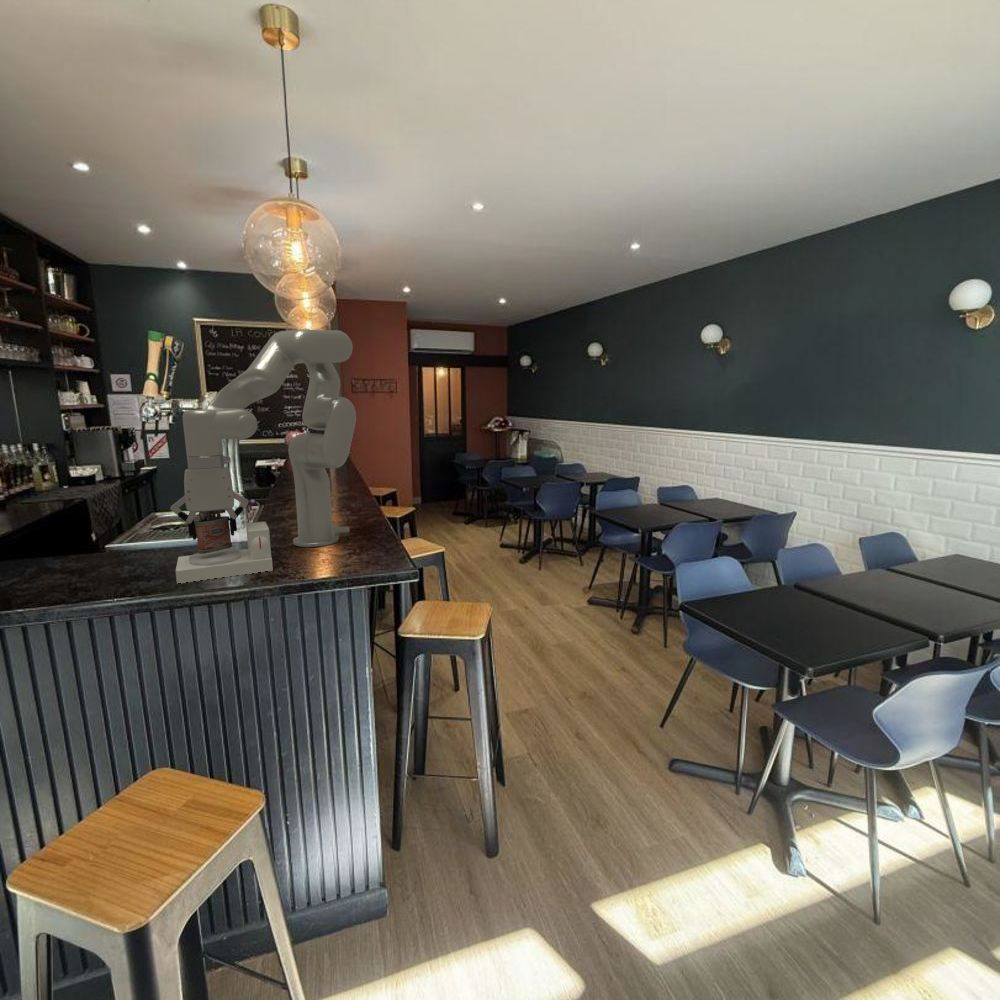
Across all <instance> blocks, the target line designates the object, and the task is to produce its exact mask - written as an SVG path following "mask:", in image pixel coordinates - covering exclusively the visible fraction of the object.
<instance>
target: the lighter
mask: <svg viewBox="0 0 1000 1000" xmlns="http://www.w3.org/2000/svg"><path fill="white" fill-rule="evenodd" d="M225 513H227V511H226V510H219V511H208V512H198V516H199V517H198V518H199V520H196V521H194V523H195V526H196V534H197V539H196V540H197V553H198V554H206V553H211V552H216V551H220V550H224V549H232V547H233V543H232V540H231V539H232V538H231V531H230V521H229V518H230V515H228V516H227V515H223V516H222V515H221V514H225Z"/></svg>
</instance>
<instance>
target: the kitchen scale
mask: <svg viewBox="0 0 1000 1000" xmlns="http://www.w3.org/2000/svg"><path fill="white" fill-rule="evenodd" d="M245 526H246V536H247V548H245V549H244V548H243V549H232V548H227V549H224V550H220V551H216V552H211V553H206V554H198V552H197V553H196V552H195V553H194V554H192V555H184V556H183V555H181V556H177V557H178V558H177V562H176V567H175V578H176V579H175V580H176V585H179V584H178V583H181V584H187V583H186V582H188V583H194V582H193V581H196V582H201V581H200V580H203V581H208V580H207V579H210V580H215V579H214V578H217V579H223V578H222V577H225V578H231V577H230V576H232V577H237V576H236V575H239V576H245V574H247V575H253V574H252V573H254V574H259V573H258V572H261V573H266V572H265V571H268V572H273V571H274V569H273V558H272V550H271V548H272V547H271V539H270V528H269V526H268V524H267V522H266V521H257V522H247V523H245Z"/></svg>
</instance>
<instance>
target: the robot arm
mask: <svg viewBox="0 0 1000 1000" xmlns="http://www.w3.org/2000/svg"><path fill="white" fill-rule="evenodd" d="M353 348H354V346H353V342H352V340H351V338H350V337H349V336H348V334H347V333H345V332H343V331H342V330H339V329H338V330H337V329H336V330H335V329H334V330H333V329H332V330H331V329H330V330H329V329H328V330H327V329H306V328H305V329H293V330H291V329H290V330H281V331H278V332H275V333H274V334H273V335H272V336H271V337H270V338H268V341H267V342H266V343H265V345H264V346H263V347H262V349H261V350H260V351H259V353H258V354H257V355H256V357H255V358H254V360H253V361H252V362H251V364H250V365H249V366H248V368H247V369H246V370H245V371H244V372H242V373H241V374H239V375H238V376H236V378H234V379H233V380H232V381H231V382H229V383H227V384H226V385H225V386H224V387H222V388H221V389H220V390H219V391H218V392H217V393H216V394H215V396H214V397H213V398H211V400H210V402H209V404H207V406H206V407H205V408H204V409H189V410H185V411H184V412H183V414H182V424H183V425H182V426H183V435H184V443H185V450H186V451H185V452H186V460H187V469H184V474H183V475H184V477H183V478H184V479H183V485H184V487H183V488H184V489H183V490H184V491H183V492H184V495H183V496H182V497H181V498H179V499H178V500H177V501H176V502H175V503H173V504H172V505H170V508H169V509H170V511H172V512H173V513H174V514H175V515H176V516H178V518H180V519H181V520H182V521H184V522H185V523H186V524H187V525H188V526H187V527H188V534H189V535H188V536H189V537H192V540H193V541H196V540H197V533H196V526H195V523H194V522H195V520H194V518H195V517H196V515H197V513H199V512H208V511H219V510H225V511H226V513H227V514H228V516H229V527H230V536H233V537H234V536H235V532H237V531H238V527H237V526H238V525H237V518H238V517H239V516H240V515H241V514H242V513H243V511H244V510H245V508H246V507H247V506H248V504H250V502H249V500H248V499H247V498H245V497H244V496H242V495H240V494H238V493H236V492H235V491H234V488H233V479H232V477H231V473H230V469H229V467H228V466H226V464H229V463H231V462H232V461H231V457H230V456H225V455H224V449H223V448H224V447H223V440H226V439H227V440H237V441H238V440H240V441H241V440H246V439H248V438H250V437H252V436H253V435H254V434H255V433H256V431H257V429H258V420H257V418H256V416H255V415H254V414H253V413H252V412H251V411H249V410H246V408H247V407H248V406H250V405H251V404H254V403H256V402H258V401H259V400H263V399H265V398H268V397H270V396H271V395H273V394H275V393H277V392H278V390H280V388H281V386H282V385H283V384H284V382H285V380H286V379H287V378H288V376H289V375H290V373H291V372H292V370H293V369H294V367H295V366H296V365H297V364H304V365H305V367H306V369H307V371H308V376H309V382H308V387H307V392H306V396H305V400H304V404H303V407H302V408H303V410H302V415H301V416H302V422H303V424H304V425H305V426H306V427H307V428H308V429H311V430H315V431H324V433H321V432H319V433H317V432H316V433H315V432H312V433H311V432H307V433H306V432H305V433H299V434H298V435H295V436H294V437H292V439H291V441H290V442H289V444H288V450H287V451H288V457H289V461H290V464H291V467H292V471H293V473H292V474H293V479H294V492H295V506H296V519H297V520H296V521H297V522H296V523H297V534H298V535H297V537H294V538H293V540H292V544H293V545H294V546H296V547H300V548H301V547H302V548H314V547H315V548H316V547H318V548H319V547H325V546H328V545H332V544H335V543H337V542H339V540H340V539H339V534H349V533H350V526H342V525H341V526H335V525H334V524H333V515H332V514H333V513H332V499H331V498H332V497H331V482H330V478H329V475H328V472H327V470H326V469H338V468H340V467H342V466H343V465H344V464H345V463H346V462H347V459H348V457H349V455H350V451H351V447H352V442H353V441H352V440H353V437H354V433H355V428H356V423H357V413H356V408H355V406H354V404H353V403H352V402H351V400H350V399H348V398H347V397H344V396H339V395H340V389H341V380H340V376H339V374H338V371H337V370H336V368H335V366H334V363H343V362H346V361H348V360H349V358H350V357H351V356H352V354H353ZM235 500H236V501H238V502H239V505H238V506H237V507H236V509H233V508H234V507H235ZM184 504H185V509H186V511H187V512H188V513H185V512H184V511H183V510H182V509H180V507H182V506H183V505H184Z"/></svg>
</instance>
